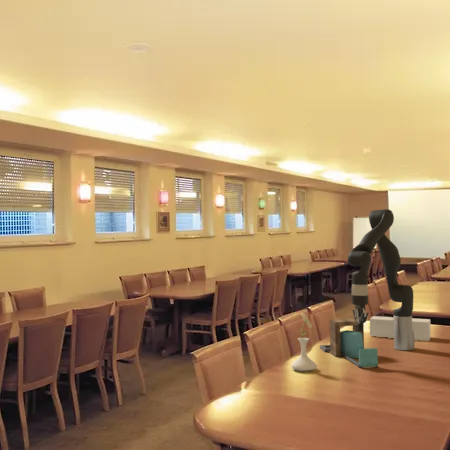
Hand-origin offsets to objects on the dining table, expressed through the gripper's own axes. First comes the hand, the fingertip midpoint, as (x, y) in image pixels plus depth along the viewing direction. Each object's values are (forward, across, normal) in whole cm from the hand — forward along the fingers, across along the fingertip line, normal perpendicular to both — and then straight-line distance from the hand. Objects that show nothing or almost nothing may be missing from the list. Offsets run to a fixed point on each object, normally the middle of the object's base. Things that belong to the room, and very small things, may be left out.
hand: (360, 331), depth 237 cm
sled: (+14, +6, 0) cm, 16 cm away
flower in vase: (+15, -5, +29) cm, 33 cm away
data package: (+15, +14, -2) cm, 20 cm away
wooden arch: (+15, +18, 0) cm, 23 cm away
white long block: (+15, +52, -45) cm, 71 cm away
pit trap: (+15, +29, 0) cm, 33 cm away
